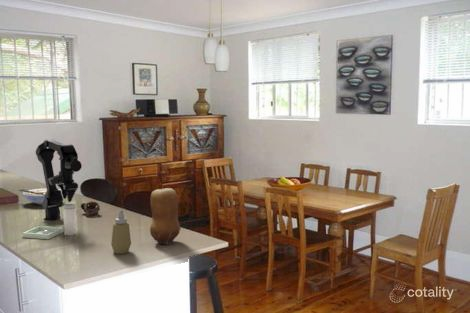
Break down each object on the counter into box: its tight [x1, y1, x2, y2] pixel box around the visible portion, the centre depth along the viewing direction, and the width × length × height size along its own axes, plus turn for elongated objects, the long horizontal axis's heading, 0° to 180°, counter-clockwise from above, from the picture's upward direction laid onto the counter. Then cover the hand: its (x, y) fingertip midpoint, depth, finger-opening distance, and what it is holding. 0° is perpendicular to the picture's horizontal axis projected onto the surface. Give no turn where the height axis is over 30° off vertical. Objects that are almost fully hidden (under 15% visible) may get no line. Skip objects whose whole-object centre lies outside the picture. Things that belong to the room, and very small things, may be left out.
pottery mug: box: [80, 200, 101, 217], centre depth 249 cm, size 12×10×8 cm
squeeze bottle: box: [110, 209, 132, 255], centre depth 186 cm, size 8×8×18 cm
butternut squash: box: [149, 187, 182, 245], centre depth 199 cm, size 14×13×25 cm
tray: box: [22, 225, 64, 240], centre depth 207 cm, size 13×13×3 cm
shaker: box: [62, 203, 77, 236], centre depth 209 cm, size 5×5×14 cm
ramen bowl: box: [18, 188, 62, 206], centre depth 273 cm, size 25×23×8 cm
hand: (67, 200), depth 224 cm, fingers open, 9 cm apart
